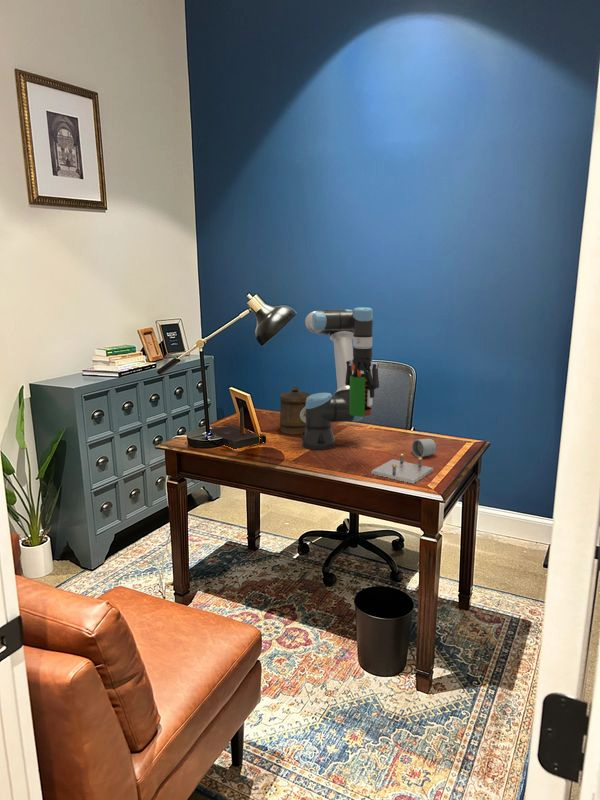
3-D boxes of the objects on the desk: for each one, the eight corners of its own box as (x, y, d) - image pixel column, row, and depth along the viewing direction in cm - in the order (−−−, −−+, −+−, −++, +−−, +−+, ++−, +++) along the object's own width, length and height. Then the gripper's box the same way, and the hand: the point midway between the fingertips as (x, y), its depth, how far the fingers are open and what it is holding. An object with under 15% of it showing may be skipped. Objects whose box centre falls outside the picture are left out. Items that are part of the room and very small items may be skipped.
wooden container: (309, 435, 290) (309, 390, 285) (278, 434, 291) (278, 389, 286) (311, 426, 304) (311, 383, 299) (281, 426, 305) (281, 383, 300)
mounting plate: (371, 474, 236) (371, 461, 235) (392, 462, 249) (392, 450, 248) (413, 483, 225) (414, 471, 224) (432, 471, 239) (433, 459, 237)
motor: (372, 416, 239) (372, 366, 234) (350, 417, 239) (349, 367, 235) (370, 410, 249) (370, 362, 244) (348, 411, 249) (348, 363, 245)
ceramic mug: (437, 456, 257) (438, 439, 255) (423, 459, 253) (423, 442, 251) (420, 450, 266) (421, 433, 264) (406, 453, 261) (406, 436, 260)
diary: (235, 433, 296) (235, 423, 294) (266, 444, 277) (266, 434, 276) (202, 440, 284) (202, 429, 282) (233, 452, 265) (232, 441, 264)
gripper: (336, 346, 241) (335, 402, 246) (379, 350, 229) (378, 409, 234) (346, 344, 246) (346, 399, 251) (389, 348, 235) (388, 405, 240)
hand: (361, 404), depth 243 cm, fingers closed on motor, 7 cm apart
